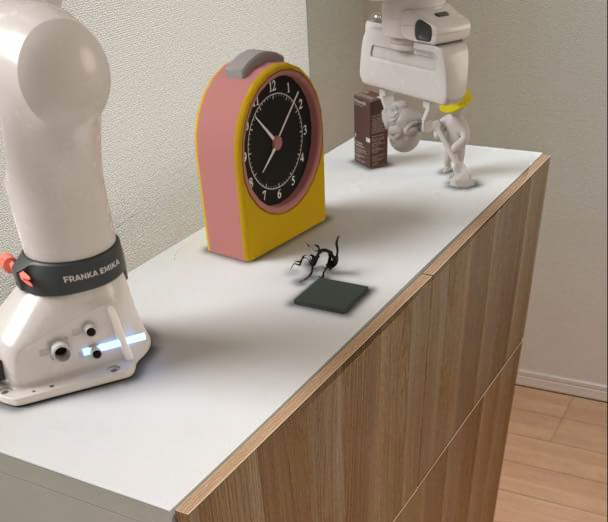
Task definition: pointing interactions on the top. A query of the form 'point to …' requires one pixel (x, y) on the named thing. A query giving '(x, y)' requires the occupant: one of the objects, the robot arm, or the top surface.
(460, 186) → the figurine
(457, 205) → the top surface
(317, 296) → the coaster pad
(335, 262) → the creature
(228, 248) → the alarm clock
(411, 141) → the white rounded lump
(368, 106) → the box
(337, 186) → the top surface
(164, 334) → the top surface
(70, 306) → the robot arm
